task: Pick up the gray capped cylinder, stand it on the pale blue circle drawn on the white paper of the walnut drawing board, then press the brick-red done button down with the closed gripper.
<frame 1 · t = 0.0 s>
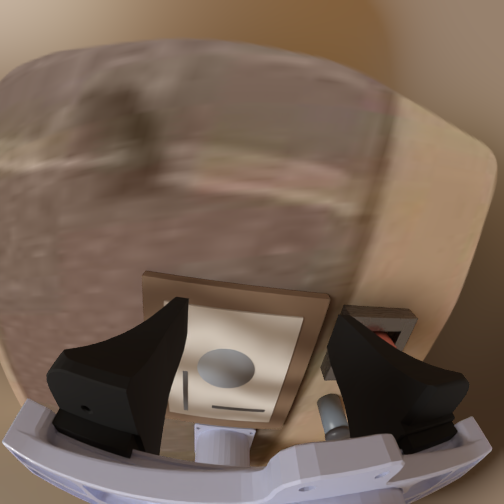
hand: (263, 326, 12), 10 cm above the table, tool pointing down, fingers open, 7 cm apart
button housing: (365, 339, 25), on the table
gray capped cylinder: (328, 400, 29), on the table
done button: (374, 354, 23), point 3 cm above the table, slide at 0.0 cm
drawing board: (225, 368, 26), on the table
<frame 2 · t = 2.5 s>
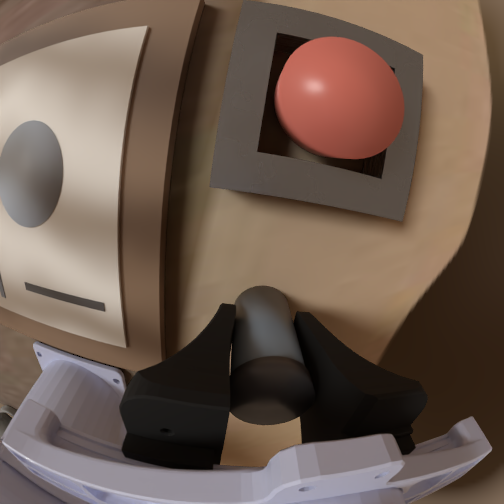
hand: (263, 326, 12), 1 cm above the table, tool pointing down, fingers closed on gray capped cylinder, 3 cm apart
button housing: (319, 109, 10), on the table
gray capped cylinder: (261, 310, 14), on the table, touching gripper
ceramic mug: (21, 422, 21), on the table
done button: (338, 99, 8), point 3 cm above the table, slide at 0.0 cm
drawing board: (39, 189, 11), on the table
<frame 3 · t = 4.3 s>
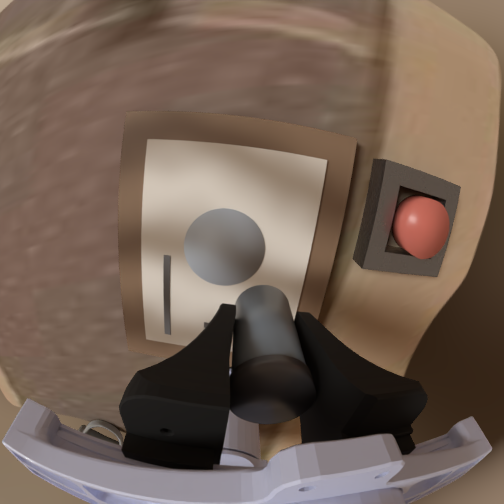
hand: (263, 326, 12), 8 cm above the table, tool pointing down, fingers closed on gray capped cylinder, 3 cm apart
button housing: (404, 218, 19), on the table
gray capped cylinder: (262, 309, 14), point 7 cm above the table, touching gripper
ceramic mug: (104, 432, 30), on the table
done button: (421, 226, 17), point 2 cm above the table, slide at 0.0 cm
drawing board: (223, 256, 20), on the table
when the fingers open (4 cm above the table, at t = 5.9 s): gray capped cylinder drops 1 cm, resting on drawing board.
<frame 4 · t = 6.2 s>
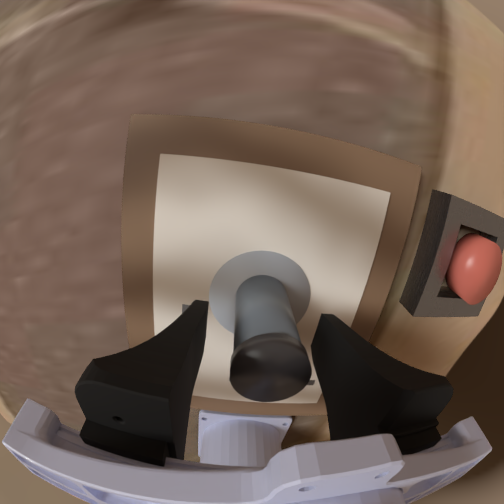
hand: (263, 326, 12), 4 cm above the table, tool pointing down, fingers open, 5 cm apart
button housing: (454, 255, 16), on the table
gray capped cylinder: (261, 298, 15), point 1 cm above the table, touching drawing board
done button: (475, 268, 13), point 2 cm above the table, slide at 0.0 cm
drawing board: (256, 303, 16), on the table
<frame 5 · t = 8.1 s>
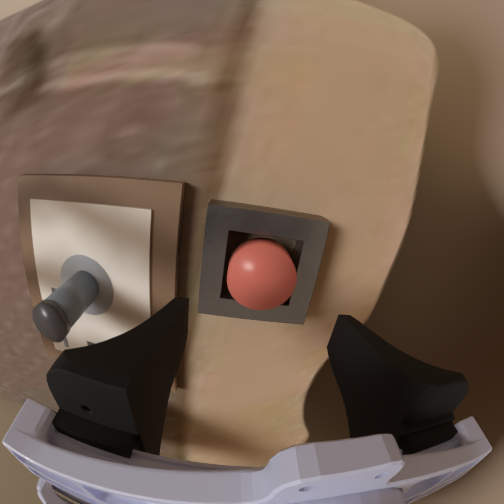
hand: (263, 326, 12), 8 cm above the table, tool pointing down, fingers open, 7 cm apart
button housing: (259, 259, 20), on the table
gray capped cylinder: (85, 285, 19), point 1 cm above the table, touching drawing board
done button: (261, 273, 18), point 2 cm above the table, slide at 0.0 cm
drawing board: (92, 290, 21), on the table
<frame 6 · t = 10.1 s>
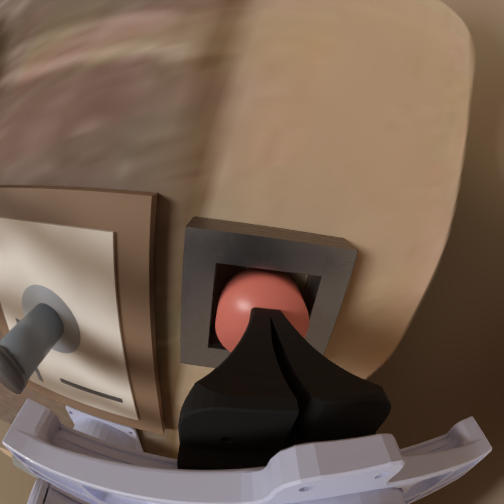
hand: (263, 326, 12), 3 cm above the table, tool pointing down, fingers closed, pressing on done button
button housing: (259, 296, 15), on the table
gray capped cylinder: (48, 320, 14), point 1 cm above the table, touching drawing board
done button: (261, 315, 13), point 2 cm above the table, slide at 0.5 cm, touching gripper
drawing board: (59, 323, 16), on the table
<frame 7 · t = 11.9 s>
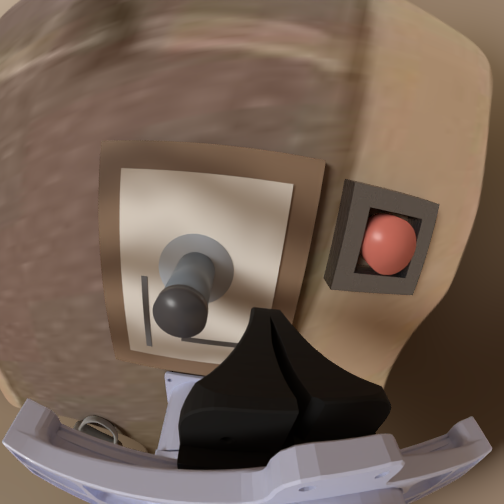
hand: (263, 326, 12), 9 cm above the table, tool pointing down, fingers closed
button housing: (378, 237, 20), on the table
gray capped cylinder: (196, 270, 19), point 1 cm above the table, touching drawing board
ceramic mug: (100, 428, 30), on the table
done button: (387, 243, 19), point 1 cm above the table, slide at 1.0 cm
drawing board: (197, 276, 21), on the table
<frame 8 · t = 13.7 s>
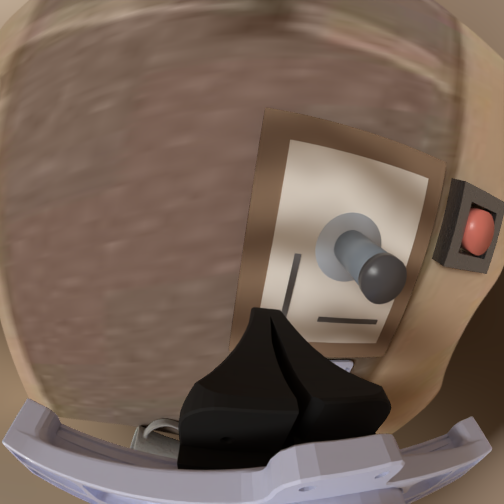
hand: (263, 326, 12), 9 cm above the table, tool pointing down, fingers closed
button housing: (467, 226, 21), on the table
gray capped cylinder: (351, 247, 20), point 1 cm above the table, touching drawing board
ceramic mug: (163, 432, 30), on the table
done button: (476, 230, 19), point 1 cm above the table, slide at 1.0 cm
drawing board: (341, 254, 21), on the table
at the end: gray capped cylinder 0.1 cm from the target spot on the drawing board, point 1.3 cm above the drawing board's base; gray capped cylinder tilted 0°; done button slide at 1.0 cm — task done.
